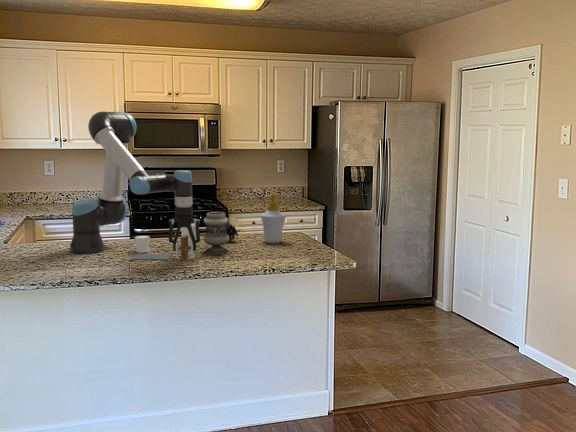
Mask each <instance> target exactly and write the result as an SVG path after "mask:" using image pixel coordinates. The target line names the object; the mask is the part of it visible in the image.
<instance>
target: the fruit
mask: <svg viewBox="0 0 576 432" xmlns="http://www.w3.org/2000/svg"><path fill="white" fill-rule="evenodd" d="M226 231H227V235H228V236H229V238H230V239H229V241H228V242H227V243H228V244H229V243H230V241H234V240H235V238H237V237H239V234H238V232H241V231H242V229H238V230H237V229H236V226H235V225H232V224H231V223H228V224H227V225H226Z"/></svg>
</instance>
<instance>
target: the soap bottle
mask: <svg viewBox="0 0 576 432" xmlns="http://www.w3.org/2000/svg"><path fill="white" fill-rule="evenodd" d="M268 195H269V196H270V199H271V201H270V202H269V205H267V210H266V211H265V212H263V213H261V214H260V219H261V221H262V227H263V241H264V242H265V243H268V244H278V243H281V242H282V240H283V228H284V223H285V219H286V217H287V216H286V214H285V213H283V212H281V211H280V210H279V205H278V204H277V201H275V200H276V198H277V197H281V196H285V193H268Z"/></svg>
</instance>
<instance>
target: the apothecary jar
mask: <svg viewBox="0 0 576 432" xmlns="http://www.w3.org/2000/svg"><path fill="white" fill-rule="evenodd" d="M229 222H230V221H229V218H228V217H226V212H224V211H211V212H207V213H206V217H204V218H203V224H204V225H205V235H204V236H203V241H204V243H205V244H207V245H209V246H210V247H209V248H207V249H206V250H205V251H206V252H208V253H212V254H218V253H219V254H221V253H225V252H228V249H227V248H226V247H224V245H226V244H227V243H228V241H229V239H230V238H229V236H228V235H227V231H226V225H227V224H230V223H229Z"/></svg>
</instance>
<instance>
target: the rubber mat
mask: <svg viewBox="0 0 576 432" xmlns="http://www.w3.org/2000/svg"><path fill="white" fill-rule="evenodd" d="M172 256H173V254H172V253H136V254H135V255H133V256H132V257H131V258H130V260H131V261H133V260H134V261H154V260H155V261H169V260H170V258H171V257H172Z"/></svg>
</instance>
